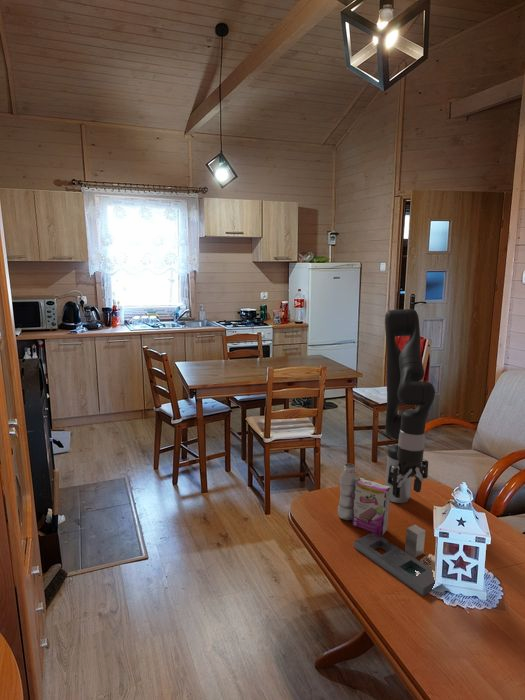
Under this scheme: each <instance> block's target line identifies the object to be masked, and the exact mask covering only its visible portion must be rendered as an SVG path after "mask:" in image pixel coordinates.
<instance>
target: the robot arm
mask: <svg viewBox="0 0 525 700" xmlns="http://www.w3.org/2000/svg"><path fill="white" fill-rule="evenodd" d="M420 327H421V326H420V319H419V314H418V312H417V310H415V309H414V308H412V309H411V308H403V309H390V310H387V311H386V312H385V315H384V328H385V329H384V331H385V346H386V371H385V372H386V375H385V376H386V412H385V425H384V427H385V429H384V430H385V435H387V437H389V438H392V439H395V440H398V441H397V442H398V443H397V444H393V445H390V446H389V447H388V449H387V457H386V458H387V459H386V471H385V484H384V485H386V486H389V487H391V490H390V501H389V502H392V503H394V504H395V503H396V504H405V503H407V502H408V501H409V500H410V498H411V493H412V492H411V491H412V490H413V491H414V492H416V493H420V492H421V490H422V484H423V483H422V482H423V481H424V479H428V474H429V461H428V460H427V459H425V458H424V453H425V452H424V451H425V443H426V441H425V439H426V437H425V432H426V423H427V422H426V421H427V417H428V414H429V411H430V410H431V407H432V404H433V403H434V400H435V397H436V389H435V386H434V385H433V384H432V383H431V382H429V381H422V380H423V378H424V377H425V371H424V364H423V359H422V353H421V331H420V329H421V328H420ZM404 336H407V337H409V339H408V341H407V343H406V344H405V345H404V346H403V348H402V349H400V348H399V345H398V343H397V341H396V337H404ZM400 404H403V405H413V406H414V405H416V406H417V407H416V408H413V409H409V410H405V411H403V412H402V413H401V414H398V408H399V406H400ZM413 478H414V480H413ZM412 481H413V489H412Z"/></svg>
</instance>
